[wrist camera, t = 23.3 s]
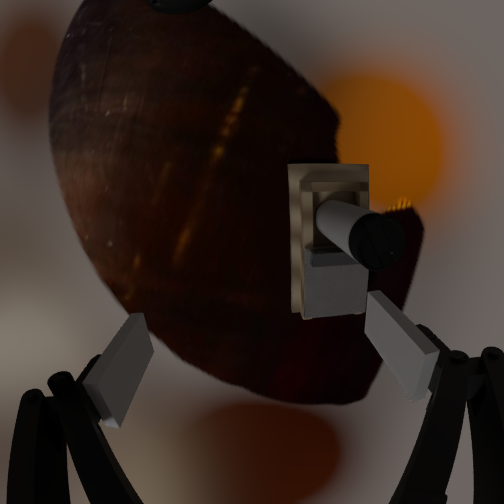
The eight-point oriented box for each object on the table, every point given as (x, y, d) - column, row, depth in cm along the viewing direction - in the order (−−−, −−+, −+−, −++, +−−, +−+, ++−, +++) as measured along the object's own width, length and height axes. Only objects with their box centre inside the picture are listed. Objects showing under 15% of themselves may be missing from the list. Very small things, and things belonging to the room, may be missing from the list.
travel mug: (337, 190, 46) (395, 203, 27) (354, 224, 47) (416, 255, 28) (306, 209, 47) (347, 233, 27) (324, 242, 48) (371, 285, 29)
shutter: (304, 248, 45) (309, 254, 41) (368, 244, 45) (377, 250, 41) (303, 316, 48) (308, 327, 44) (363, 310, 48) (371, 319, 44)
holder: (287, 164, 46) (291, 163, 42) (366, 164, 46) (375, 164, 42) (291, 310, 52) (294, 320, 48) (361, 303, 52) (369, 312, 49)
